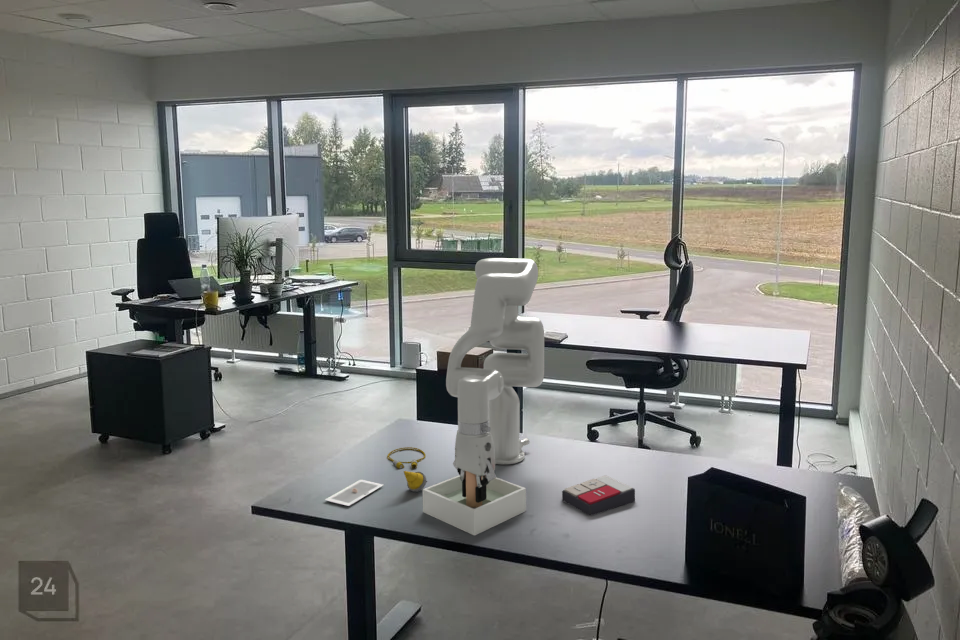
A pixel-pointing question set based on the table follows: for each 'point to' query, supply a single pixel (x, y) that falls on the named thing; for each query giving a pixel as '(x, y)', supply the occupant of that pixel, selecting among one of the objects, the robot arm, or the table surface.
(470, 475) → the peg
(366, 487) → the white grey flat rectangle
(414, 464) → the extension cord
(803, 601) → the table surface
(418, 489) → the yellow tapered spiral part
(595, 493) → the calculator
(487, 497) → the holed box
